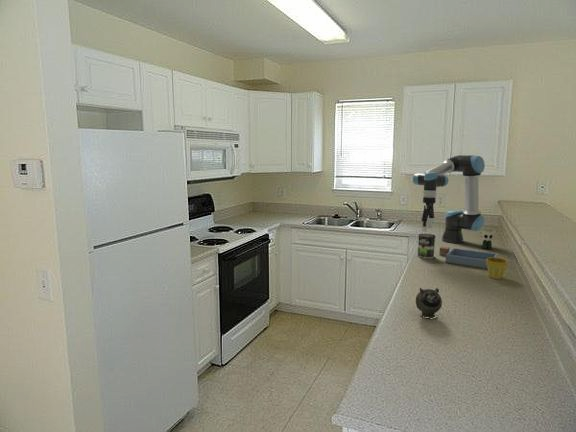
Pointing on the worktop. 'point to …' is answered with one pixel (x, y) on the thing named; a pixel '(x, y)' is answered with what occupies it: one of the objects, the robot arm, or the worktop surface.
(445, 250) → the brown wooden cube
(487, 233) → the character mug
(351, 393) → the worktop surface
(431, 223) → the robot arm
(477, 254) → the tote
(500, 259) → the plant pot
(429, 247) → the coffee can
